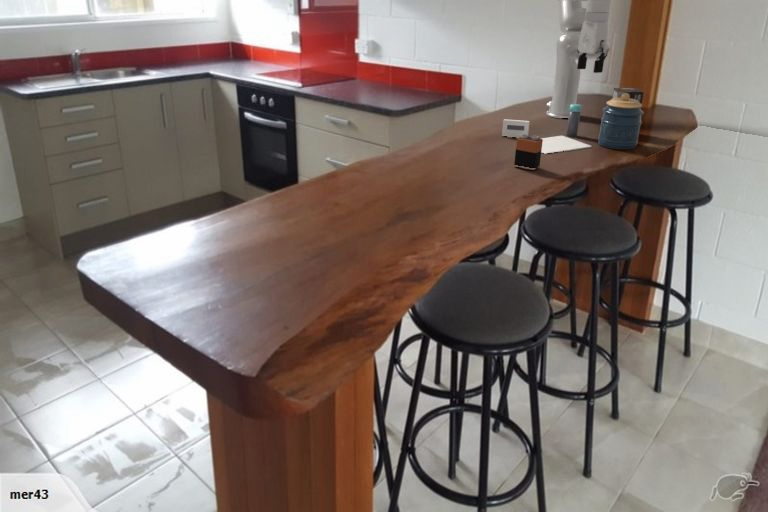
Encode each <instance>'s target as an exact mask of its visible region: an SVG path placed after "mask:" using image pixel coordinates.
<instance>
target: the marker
mask: <svg viewBox="0 0 768 512" xmlns="http://www.w3.org/2000/svg"><path fill="white" fill-rule="evenodd" d="M582 106H583V105H582V104H579V103H576V104H570V109H569V118H568V119H567V126H566V134H565V137H568V136H569V137H568V138H577V137H578V131H579V125H580V117H581V113H582V112H581V111H582V108H583V107H582ZM576 136H577V137H576Z"/></svg>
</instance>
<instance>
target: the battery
mask: <svg viewBox="0 0 768 512" xmlns="http://www.w3.org/2000/svg"><path fill="white" fill-rule="evenodd" d="M542 142H543V140H542V139H541V138H540V136H539V135H532V136H529V135H528V136H527V135H522V136H521V137H519V138H516V143H515V154H514V163H513V166H514V165H518V166H524V167H529V168H537V167H538V166H539V167H540V164H541V156H542V153H541V150H542Z"/></svg>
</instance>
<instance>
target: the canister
mask: <svg viewBox="0 0 768 512" xmlns="http://www.w3.org/2000/svg"><path fill="white" fill-rule="evenodd" d="M612 98H613V97H612ZM612 98H611V99H610V100H608V101H606V106H605V107H603V108H602V112H603V115H602V117H601V118H600V121H601V123H600V128H599V134H598V138H597V140H598V141H597V143H598V145H599V146H601V147H604V148H605V149H612V150H624V151H625V150H634V149H635V148H636V147H637V145H638V142H639V135H640V131H641V130H640V129H641V125H642V115H644V112H645V111H643V110H642V107H643V103H642V104H641V103H639V102H638V100H635V99H631V98H630V96H629V94H628V93H624V94H622V96H621V98H613V99H612ZM640 107H641V109H640Z"/></svg>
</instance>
